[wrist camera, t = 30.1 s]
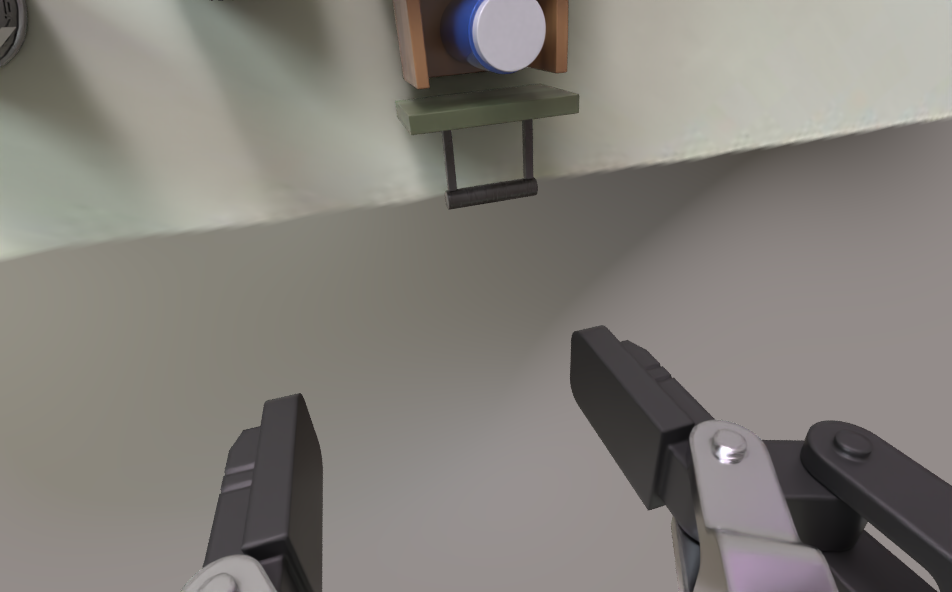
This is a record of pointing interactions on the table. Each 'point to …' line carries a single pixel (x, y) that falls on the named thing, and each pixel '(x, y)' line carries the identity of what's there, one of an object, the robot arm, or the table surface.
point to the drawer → (477, 93)
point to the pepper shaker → (493, 33)
